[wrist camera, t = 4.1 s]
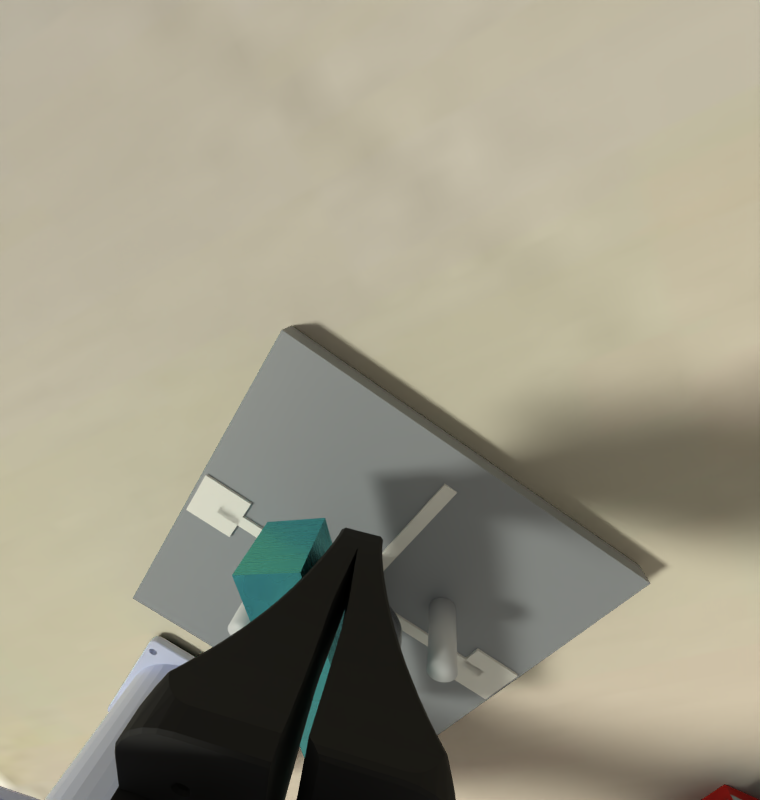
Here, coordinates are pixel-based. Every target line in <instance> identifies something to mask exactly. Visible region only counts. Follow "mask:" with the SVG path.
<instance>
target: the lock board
mask: <svg viewBox="0 0 760 800" xmlns="http://www.w3.org/2000/svg"><path fill="white" fill-rule="evenodd" d="M315 518H325V519H326V522H327V526H328V529H329V533H330V536H331V540H332V543H333V542H334V541H335V539H336V538H337V536H338V535H339V533H340V532H341V530H342V529H344V528H350V529H353V530H357V531H361V532H365V533H369V534H373V535H377V536H381V538H382V539H383V546H382V559H383V571H384V579H385V585H386V591H387V597H388V602H389V606H390V607H391V608H392V609H393V611H394V612H395V613H396V615H397V617H398V619H399V621H400V624H401V628H402V643H401V651H402V654H403V657H404V659H405V662H406V665H407V668H408V670H409V673H410V675H411V678H412V680H413V683H414V685H415V688H416V691H417V693H418V696H419V698H420V700H421V702H422V705H423V707H424V709H425V711H426V713H427V716H428V718H429V720H430V722H431V724H432V726H433V728H434V730H435V732H436V734H437V735H438V734H440V733H441V732H443V731H444V730H445V729H447V728H448V727H450V726H451V725H452V724H454V723H455V722H457V721H458V720H459V719H461V718H462V717H464V716H465V715H466V714H468V713H469V712H471V711H472V710H473V709H475V708H476V707H478V706H479V705H480V704H482V703H483V702H485V701H486V700H487V699H489V698H490V697H492V696H493V695H495V694H496V693H497V692H499V691H500V690H502V689H503V688H504V687H506V686H507V685H509V684H510V683H511V682H513V681H514V680H516V679H517V678H518V677H520V676H521V675H523V674H524V673H525V672H527V671H528V670H530V669H531V668H532V667H534V666H535V665H537V664H538V663H539V662H541V661H542V660H544V659H545V658H546V657H548V656H549V655H551V654H552V653H553V652H555V651H556V650H558V649H559V648H560V647H562V646H563V645H565V644H566V643H568V642H569V641H570V640H572V639H573V638H575V637H576V636H577V635H579V634H580V633H582V632H583V631H584V630H586V629H587V628H589V627H590V626H591V625H593V624H594V623H596V622H597V621H598V620H600V619H601V618H603V617H604V616H605V615H607V614H608V613H610V612H611V611H612V610H614V609H615V608H617V607H618V606H619V605H621V604H622V603H624V602H625V601H626V600H628V599H629V598H631V597H632V596H634V595H635V594H636V593H638V592H639V591H641V590H642V589H643V588H645V587H646V586H648V585H649V584H650V582H649V580H648V579H647V577H646V576H645V574H644V573H643V571H642V569H641V568H640V566H639V565H638V564H636V563H635V562H633V561H632V560H630V559H629V558H627V557H626V556H625V555H623V554H622V553H620V552H619V551H617V550H616V549H614V548H613V547H612V546H610V545H609V544H607V543H606V542H604V541H603V540H601V539H600V538H599V537H597V536H596V535H594V534H593V533H591V532H590V531H588V530H587V529H585V528H584V527H583V526H581V525H580V524H578V523H577V522H575V521H574V520H572V519H571V518H570V517H568V516H567V515H565V514H564V513H562V512H561V511H559V510H558V509H556V508H555V507H554V506H552V505H551V504H549V503H548V502H546V501H545V500H543V499H542V498H541V497H539V496H538V495H536V494H535V493H533V492H532V491H530V490H529V489H528V488H526V487H525V486H523V485H522V484H520V483H519V482H517V481H516V480H514V479H513V478H512V477H510V476H509V475H507V474H506V473H504V472H503V471H501V470H500V469H499V468H497V467H496V466H494V465H493V464H491V463H490V462H488V461H487V460H485V459H484V458H483V457H481V456H480V455H478V454H477V453H475V452H474V451H472V450H471V449H470V448H468V447H467V446H465V445H464V444H462V443H461V442H459V441H458V440H457V439H455V438H454V437H452V436H451V435H449V434H448V433H446V432H445V431H443V430H442V429H441V428H439V427H438V426H436V425H435V424H433V423H432V422H430V421H429V420H428V419H426V418H425V417H423V416H422V415H420V414H419V413H417V412H416V411H414V410H413V409H412V408H410V407H409V406H407V405H406V404H404V403H403V402H401V401H400V400H399V399H397V398H396V397H394V396H393V395H391V394H390V393H388V392H387V391H386V390H384V389H383V388H381V387H380V386H378V385H377V384H375V383H374V382H372V381H371V380H370V379H368V378H367V377H365V376H364V375H362V374H361V373H359V372H358V371H357V370H355V369H354V368H352V367H351V366H349V365H348V364H346V363H345V362H343V361H342V360H341V359H339V358H338V357H336V356H335V355H333V354H332V353H330V352H329V351H328V350H326V349H325V348H323V347H322V346H320V345H319V344H317V343H316V342H315V341H313V340H312V339H310V338H309V337H307V336H306V335H304V334H303V333H301V332H300V331H299V330H297V329H296V328H294V327H293V326H290V327H287V328H285V329H283V330H282V331H281V332H280V334H279V336H278V338H277V340H276V341H275V343H274V345H273V347H272V349H271V350H270V352H269V354H268V356H267V358H266V359H265V361H264V363H263V365H262V367H261V368H260V370H259V372H258V374H257V376H256V377H255V379H254V381H253V383H252V385H251V386H250V388H249V390H248V392H247V394H246V395H245V397H244V399H243V401H242V402H241V404H240V406H239V408H238V410H237V411H236V413H235V415H234V417H233V419H232V420H231V422H230V424H229V426H228V428H227V429H226V431H225V433H224V435H223V437H222V438H221V440H220V442H219V444H218V446H217V447H216V449H215V451H214V453H213V455H212V456H211V458H210V460H209V462H208V464H207V465H206V467H205V469H204V471H203V473H202V474H201V476H200V478H199V480H198V482H197V483H196V485H195V487H194V489H193V491H192V492H191V494H190V496H189V498H188V500H187V501H186V503H185V505H184V507H183V509H182V510H181V512H180V514H179V516H178V518H177V519H176V521H175V523H174V525H173V527H172V528H171V530H170V532H169V534H168V536H167V537H166V539H165V541H164V543H163V545H162V546H161V548H160V550H159V552H158V554H157V555H156V557H155V559H154V561H153V563H152V564H151V566H150V568H149V570H148V572H147V573H146V575H145V577H144V579H143V581H142V582H141V584H140V586H139V588H138V590H137V591H136V593H135V595H134V597H133V599H135V600H136V601H138V602H140V603H141V604H143V605H145V606H146V607H148V608H150V609H151V610H153V611H155V612H156V613H158V614H159V615H161V616H163V617H164V618H166V619H168V620H169V621H171V622H173V623H174V624H176V625H178V626H179V627H181V628H183V629H184V630H186V631H187V632H189V633H191V634H192V635H194V636H196V637H197V638H199V639H201V640H202V641H204V642H206V643H207V644H209V645H211V646H212V647H214V646H215V645H217V644H219V643H220V642H222V641H223V640H225V639H226V638H228V637H229V636H231V635H232V634H234V633H236V632H237V631H239V630H240V629H242V628H243V627H244V626H246V625H247V624H249V623H250V620H249V617H248V615H247V612H246V610H245V607H244V605H243V602H242V600H241V597H240V595H239V592H238V590H237V587H236V584H235V582H234V579H233V577H232V574H233V573H234V571H235V570H236V568H237V567H238V565H239V564H240V562H241V561H242V559H243V558H244V556H245V555H246V553H247V552H248V550H249V549H250V547H251V546H252V544H253V543H254V541H255V540H256V538H257V537H258V535H259V534H260V532H261V531H262V529H263V528H264V526H265V525H266V523H267V522H273V521H287V520H301V519H315Z"/></svg>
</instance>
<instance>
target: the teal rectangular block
mask: <svg viewBox="0 0 760 800" xmlns="http://www.w3.org/2000/svg"><path fill="white" fill-rule="evenodd" d="M331 545H332V540H331V536H330V533H329V529H328V526H327V522H326V519H325V518H315V519H301V520H287V521H273V522H267V523H266V525H265V526H264V528H263V529H262V531H261V532H260V534H259V535H258V537H257V538H256V540H255V541H254V543H253V544H252V546H251V547H250V549H249V550H248V552H247V553H246V555H245V556H244V558H243V559H242V561H241V562H240V564H239V565H238V567H237V568H236V570H235V571H234V573H233V574H232V577H233V579H234V582H235V584H236V587H237V590H238V592H239V595H240V597H241V600H242V602H243V605H244V607H245V610H246V612H247V615H248V617H249V620H250V622H251V621H253V620H254V619H255V618H257V617H258V616H259V615H260V614H262V613H263V612H264V611H266V610H267V609H268V608H269V607H271V606H272V605H273V604H274V603H275V602H277V601H278V600H279V599H280V598H281V597H282V596H284V595H285V594H286V593H287V592H288V591H289V590H290V589H291V588H292V587H293V586H294V585H295V584H296V583H297V582H298V581H299V580H300V579H301V578H302V577H303V576H304V575H305V574H306V573H307V572H308V571H309V570H310V569H311V568H312V567H313V566H314V565H315V564H316V563H317V561H318V560H319V559H320V558H321V557H322V556H323V555H324V553H325V552H326V551H327V550H328V548H329V547H330V546H331ZM389 607H390V606H389ZM390 611H391V616H392V620H393V624H394V627H395V631H396V634H397V638H398V641H399V644H400V648H401V643H402V628H401V624H400V621H399V619H398V617H397V615H396V613H395V612H394V611H393V609H392V608H391V607H390ZM344 613H345V611H344ZM344 613H343V616H342V619H341V621H340V624H339V627H338V630H337V632H336V635H335V638H334V640H333V643H332V646H331V648H330V651H329V654H328V656H327V659H326V662H325V665H324V667H323V670H322V673H321V675H320V678H319V681H318V684H317V687H316V690H315V694H314V697H313V701H312V704H311V708H310V711H309V715H308V718H307V722H306V725H305V729H304V732H303V736H302V739H301V743H300V748H301V750H302V753H303V755H304V758H305V754H306V749H307V743H308V738H309V734H310V731H311V728H312V724H313V721H314V718H315V715H316V712H317V708H318V705H319V702H320V699H321V696H322V692H323V689H324V686H325V682H326V679H327V676H328V673H329V669H330V666H331V663H332V659H333V656H334V653H335V649H336V646H337V642H338V639H339V636H340V632H341V629H342V624H343V618H344Z"/></svg>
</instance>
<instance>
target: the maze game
mask: <svg viewBox="0 0 760 800" xmlns="http://www.w3.org/2000/svg"><path fill="white" fill-rule="evenodd" d="M701 800H759V799H757V798H754V797H752V796H750V795H748V794H746V793H743V792H741V791H739V790H737V789H734V788H732V787H730V786H728V785H725V784H724V785H723V786H721V787H720V788H718V789H717V790H715V791H714V792H712V793H711V794H709V795H708V796H706V797H704V798H703V799H701Z"/></svg>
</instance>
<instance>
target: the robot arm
mask: <svg viewBox="0 0 760 800" xmlns="http://www.w3.org/2000/svg"><path fill="white" fill-rule="evenodd" d="M382 546H383V539H382V538H381V536H377V535H373V534H369V533H365V532H361V531H357V530H353V529H350V528H344V529H342V530H341V532H340V533H339V535H338V536H337V538H336V539H335V541H334V542H333V543H332V545H331V546H330V547H329V548H328V550H327V551H326V552H325V553H324V555H323V556H322V557H321V558H320V559H319V560H318V561H317V563H316V564H315V565H314V566H313V567H312V568H311V569H310V570H309V571H308V572H307V573H306V574H305V575H304V576H303V577H302V578H301V579H300V580H299V581H298V582H297V583H296V584H295V585H294V586H293V587H292V588H291V589H290V590H289V591H288V592H287V593H286V594H285V595H284V596H282V597H281V598H280V599H279V600H278V601H277V602H275V603H274V604H273V605H272V606H271V607H269V608H268V609H267V610H266V611H264V612H263V613H262V614H260V615H259V616H258V617H257V618H255V619H254V620H253V621H251V622H250V623H249V624H247V625H246V626H244V627H243V628H242V629H240V630H239V631H237V632H236V633H234V634H232V635H231V636H229V637H228V638H226V639H225V640H223V641H222V642H220V643H219V644H217V645H215V646H214V647H212V648H211V649H209V650H207V651H206V652H204V653H202V654H200V655H198V656H197V657H194V656H193V655H191V654H189V653H188V652H186V651H184V650H183V649H181V648H179V647H178V646H176V645H174V644H173V643H171V642H169V641H168V640H166V639H164V638H163V637H160V636H155V637H153V638H152V640H151V641H150V642H149V644H148V645H147V647H146V648H145V650H144V652H143V653H142V655H141V656H140V658H139V660H138V661H137V663H136V664H135V666H134V667H133V669H132V671H131V672H130V674H129V675H128V677H127V679H126V680H125V682H124V683H123V685H122V686H121V688H120V690H119V691H118V693H117V694H116V696H115V698H114V699H113V701H112V702H111V704H110V705H109V707H108V712H109V713H108V714H107V715H106V717H105V718H104V719H103V721H102V722H101V723H100V725H99V726H98V728H97V729H96V730H95V732H94V733H93V734H92V736H91V737H90V738H89V740H88V741H87V742H86V744H85V745H84V747H83V748H82V749H81V751H80V752H79V753H78V755H77V756H76V757H75V759H74V760H73V762H72V763H71V764H70V766H69V767H68V768H67V770H66V771H65V772H64V774H63V775H62V776H61V778H60V779H59V781H58V782H57V783H56V785H55V786H54V787H53V789H52V790H51V791H50V793H49V794H48V795H47V797H46V798H45V800H285V797H286V793H287V790H288V786H289V782H290V779H291V775H292V772H293V768H294V764H295V761H296V757H297V754H298V750H299V747H300V743H301V739H302V736H303V732H304V729H305V725H306V722H307V718H308V715H309V711H310V708H311V704H312V701H313V697H314V694H315V690H316V687H317V684H318V681H319V678H320V675H321V673H322V670H323V667H324V665H325V662H326V659H327V656H328V654H329V651H330V648H331V646H332V643H333V640H334V638H335V635H336V632H337V630H338V627H339V624H340V621H341V619H342V616H343V613H344V611H345V613H344V618H343V624H342V629H341V632H340V636H339V639H338V642H337V646H336V649H335V653H334V656H333V659H332V663H331V666H330V669H329V673H328V676H327V679H326V682H325V686H324V689H323V692H322V696H321V699H320V702H319V705H318V708H317V712H316V715H315V718H314V721H313V724H312V728H311V731H310V734H309V738H308V743H307V749H306V754H305V759H304V764H303V770H302V775H301V780H300V786H299V791H298V796H297V800H456V799H455V792H454V786H453V780H452V775H451V770H450V765H449V761H448V756H447V753H446V751H445V750H444V748H443V746H442V744H441V742H440V740H439V738H438V736H437V734H436V732H435V730H434V728H433V726H432V724H431V722H430V720H429V718H428V716H427V713H426V711H425V709H424V707H423V705H422V702H421V700H420V698H419V696H418V693H417V691H416V688H415V685H414V683H413V680H412V678H411V675H410V673H409V670H408V668H407V665H406V662H405V659H404V657H403V654H402V651H401V648H400V644H399V641H398V638H397V634H396V631H395V627H394V624H393V620H392V616H391V611H390V607H389V602H388V597H387V591H386V585H385V579H384V571H383V559H382ZM0 800H39V799H36V798H33V797H31V796H28V795H25V794H22V793H19V792H16V791H13V790H10V789H7V788H4V787H1V786H0Z"/></svg>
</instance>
